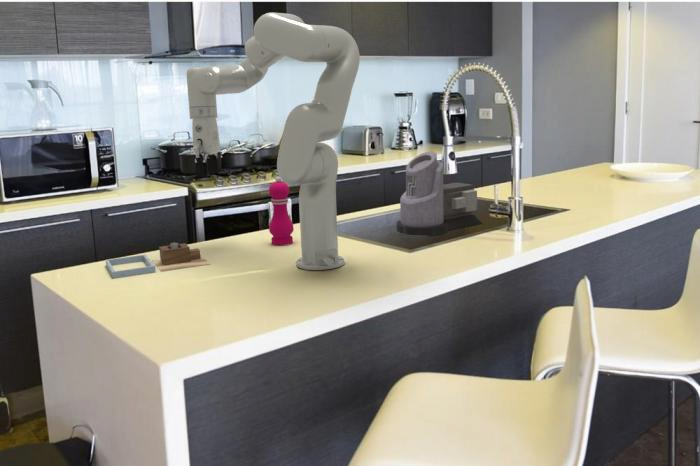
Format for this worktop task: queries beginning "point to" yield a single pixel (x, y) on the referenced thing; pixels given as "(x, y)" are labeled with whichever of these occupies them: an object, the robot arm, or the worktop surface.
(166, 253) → the collar
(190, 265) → the stake board
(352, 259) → the worktop surface
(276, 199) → the pepper mill
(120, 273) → the tray
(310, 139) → the robot arm
